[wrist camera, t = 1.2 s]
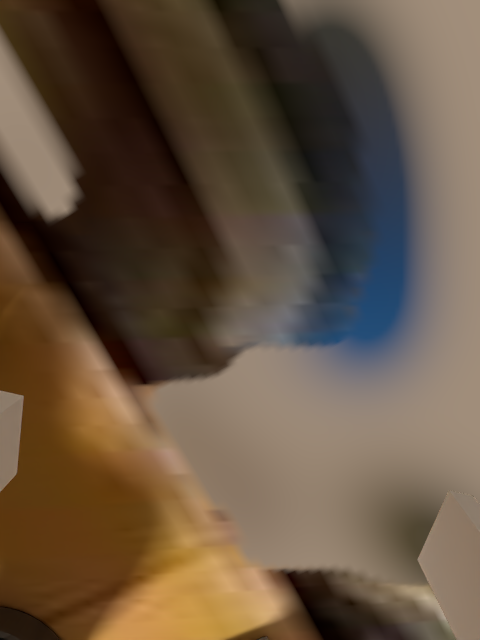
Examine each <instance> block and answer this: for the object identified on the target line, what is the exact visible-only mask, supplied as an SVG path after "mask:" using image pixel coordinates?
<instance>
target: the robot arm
mask: <svg viewBox="0 0 480 640" xmlns="http://www.w3.org/2000/svg"><path fill="white" fill-rule="evenodd" d="M23 400H24V396H23V395H18V394H14V393H9V392H5V391H0V492H1V490H2V489H3V488H4V487H5V486H6V485H7V484H8V483H9V482H10V481H11V480H12V478H13V477H14V476H15V475H16V474H17V467H18V456H19V445H20V433H21V422H22V411H23ZM418 562H419V564H420V566H421V568H422V570H423V572H424V574H425V576H426V578H427V580H428V582H429V584H430V586H431V588H432V590H433V593H434V595H435V597H436V599H437V601H438V603H439V605H440V607H441V609H442V611H443V613H444V615H445V617H446V619H447V621H448V623H449V625H450V627H451V629H452V631H453V633H454V635H455V637H456V639H457V640H480V504H479V503H478V501H477V500H476V499H475V498H474V496H472V495H468V494H464V493H459V492H455V491H448V494H447V496H446V498H445V500H444V502H443V505H442V507H441V509H440V511H439V513H438V516H437V518H436V520H435V522H434V524H433V527H432V529H431V531H430V533H429V536H428V538H427V540H426V542H425V545H424V547H423V549H422V551H421V553H420V555H419V558H418ZM0 640H59V638H58V637H57V636H56V635H55V634H54V633H53V632H52V631H51V630H50V629H49V628H48V627H47V626H46V625H44V624H43V623H41V622H40V621H39V620H37V619H35V618H33V617H32V616H30V615H27V614H25V613H23V612H20V611H17V610H14V609H10V608H5V607H0Z"/></svg>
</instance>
